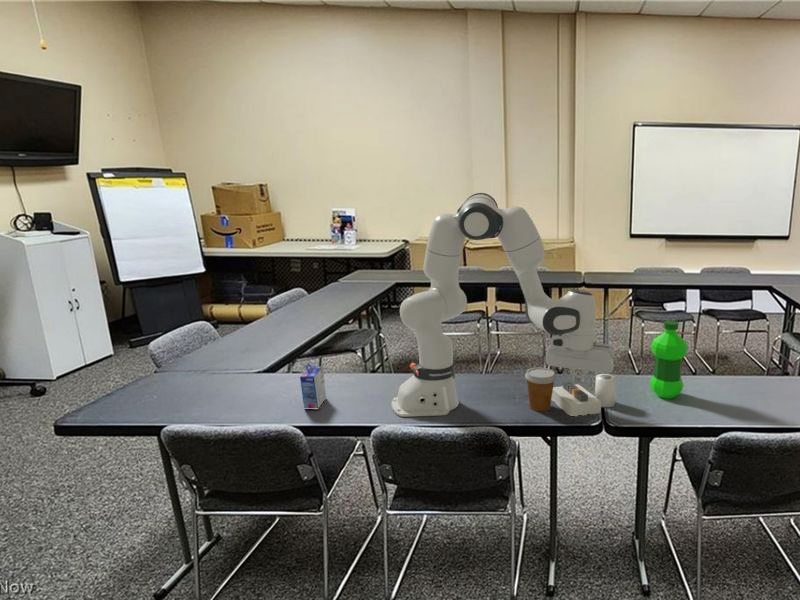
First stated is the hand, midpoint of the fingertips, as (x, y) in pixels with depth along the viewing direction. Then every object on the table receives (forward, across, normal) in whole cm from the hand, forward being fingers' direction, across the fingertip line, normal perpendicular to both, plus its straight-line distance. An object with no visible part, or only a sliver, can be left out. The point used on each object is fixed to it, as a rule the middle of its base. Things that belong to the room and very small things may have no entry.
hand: (578, 381), depth 165 cm
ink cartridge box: (+8, +79, +37) cm, 88 cm away
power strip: (+8, +3, -2) cm, 9 cm away
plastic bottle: (+8, -24, -20) cm, 32 cm away
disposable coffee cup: (+8, +10, +6) cm, 15 cm away
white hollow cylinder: (+8, -7, -5) cm, 12 cm away
